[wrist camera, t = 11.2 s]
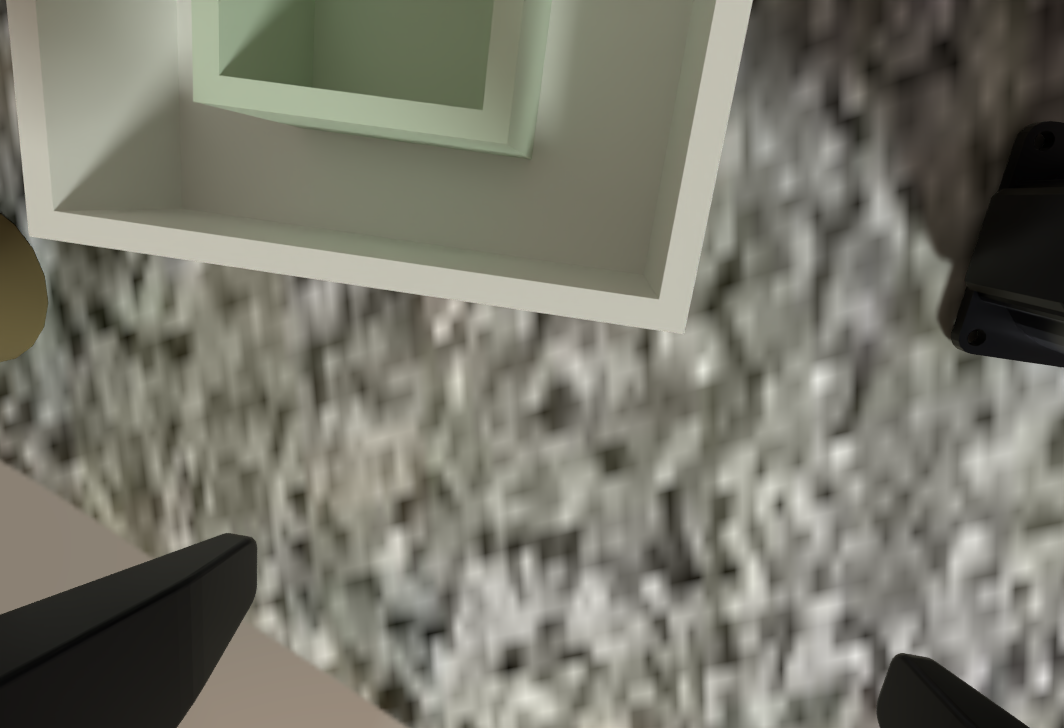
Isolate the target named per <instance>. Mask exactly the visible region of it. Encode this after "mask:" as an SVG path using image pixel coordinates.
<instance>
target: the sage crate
mask: <svg viewBox="0 0 1064 728" xmlns="http://www.w3.org/2000/svg"><path fill="white" fill-rule="evenodd" d="M551 5H552V0H191V11H192V64H193V102H197V103H201V104H205V105H209V106H213V107H217V108H222V109H226V110H230V111H234V112H238V113H242V114H246V115H250V116H254V117H258V118H262V119H266V120H270V121H274V122H278V123H282V124H287V125H291V126H295V127H299V128H304V129H312V130H319V131H326V132H334V133H341V134H348V135H355V136H363V137H370V138H377V139H385V140H392V141H399V142H407V143H414V144H421V145H429V146H436V147H443V148H450V149H458V150H465V151H472V152H480V153H487V154H494V155H502V156H509V157H516V158H523V159H531V160H532V153H533V145H534V138H535V130H536V122H537V114H538V106H539V99H540V91H541V83H542V75H543V67H544V59H545V52H546V44H547V36H548V28H549V20H550V12H551Z"/></svg>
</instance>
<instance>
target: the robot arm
mask: <svg viewBox="0 0 1064 728" xmlns="http://www.w3.org/2000/svg"><path fill="white" fill-rule="evenodd" d="M1038 134H1042V135H1043V137H1044V144H1043V146H1042V147H1041V149H1039V150H1037V149H1036V148H1035V146H1034V140H1035V138H1036V136H1037V135H1038ZM965 282H966V284H967V287H966V290H965V293H964V296H963V300H962V303H961V306H960V309H959V312H958V315H957V318H956V321H955V324H954V327H953V330H952V334H951V340H952V343H953V345H954V346H955V347H956V348H957V349H960V350H962V351H965V352H967V353H970V354H976V355H983V356H989V357H996V358H1003V359H1010V360H1017V361H1023V362H1030V363H1037V364H1044V365H1051V366H1057V367H1064V123H1061V122H1053V121H1049V122H1040V123H1034V124H1031V125H1029V126H1027V127H1025V128H1024V129H1023V130H1022V131H1021V132H1020V133H1019V134H1018V136H1017V138H1016V140H1015V143H1014V146H1013V149H1012V152H1011V155H1010V158H1009V161H1008V164H1007V167H1006V170H1005V173H1004V176H1003V179H1002V182H1001V185H1000V188H999V191H998V193H996V194H995V195H994V196H993V197H992V198H991V201H990V204H989V207H988V210H987V213H986V216H985V219H984V222H983V225H982V228H981V231H980V234H979V237H978V240H977V244H976V247H975V250H974V253H973V256H972V259H971V262H970V265H969V268H968V271H967V274H966V277H965ZM975 329H977V331H978V336H977V338H976V339H975V340H974V341H973V342H971V343H969V342H968V335H969V334H970V332H972V331H973V330H975ZM256 589H257V544H256V541H255V540H254V539H253V538H252V537H248V536H243V535H237V534H231V533H225V534H222V535H219V536H216V537H214V538H211V539H208V540H205V541H202V542H200V543H197V544H194V545H191V546H189V547H186V548H183V549H180V550H178V551H175V552H172V553H169V554H167V555H164V556H161V557H158V558H156V559H153V560H150V561H147V562H144V563H142V564H140V565H136V566H133V567H131V568H128V569H125V570H122V571H120V572H117V573H114V574H111V575H109V576H106V577H103V578H101V579H98V580H95V581H92V582H89V583H87V584H84V585H81V586H78V587H75V588H73V589H70V590H68V591H64V592H62V593H59V594H56V595H53V596H51V597H48V598H45V599H42V600H40V601H37V602H34V603H31V604H29V605H26V606H23V607H20V608H17V609H15V610H12V611H9V612H7V613H4V614H1V615H0V728H177V727H178V725H179V724H180V722H181V721H182V720H183V718H184V716H185V715H186V713H187V712H188V711H189V709H190V708H191V706H192V705H193V703H194V702H195V700H196V698H197V697H198V695H199V694H200V692H201V690H202V689H203V687H204V686H205V684H206V682H207V680H208V679H209V677H210V675H211V674H212V672H213V670H214V668H215V667H216V665H217V663H218V661H219V660H220V658H221V656H222V655H223V653H224V651H225V649H226V647H227V646H228V644H229V642H230V641H231V639H232V637H233V636H234V634H235V632H236V630H237V628H238V627H239V625H240V623H241V622H242V620H243V618H244V617H245V615H246V613H247V611H248V610H249V608H250V606H251V604H252V602H253V600H254V597H255V594H256ZM877 719H878V723H879V726H880V728H1029V727H1028V726H1027V725H1025V724H1024V723H1022V722H1021V721H1020V720H1018V719H1017V718H1015V717H1014V716H1012V715H1011V714H1010V713H1008V712H1007V711H1005V710H1004V709H1002V708H1001V707H1000V706H998V705H997V704H995V703H994V702H993V701H991V700H990V699H988V698H987V697H985V696H984V695H983V694H981V693H980V692H978V691H977V690H976V689H974V688H973V687H971V686H970V685H968V684H967V683H966V682H964V681H963V680H961V679H960V678H958V677H957V676H956V675H954V674H953V673H951V672H950V671H949V670H947V669H946V668H944V667H943V666H941V665H940V664H939V663H937V662H936V661H934V660H933V659H930V658H927V657H922V656H916V655H911V654H905V653H900V654H897V655H896V656H895V657H894V658H893V659H892V661H891V663H890V666H889V669H888V672H887V675H886V677H885V680H884V683H883V686H882V689H881V691H880V694H879V697H878V701H877Z"/></svg>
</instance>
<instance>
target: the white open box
mask: <svg viewBox="0 0 1064 728" xmlns="http://www.w3.org/2000/svg"><path fill="white" fill-rule="evenodd" d="M752 2H753V0H552V5H551V12H550V20H549V28H548V36H547V44H546V52H545V59H544V67H543V75H542V83H541V91H540V99H539V106H538V114H537V122H536V130H535V138H534V145H533V153H532V160H531V159H523V158H516V157H509V156H502V155H494V154H487V153H480V152H472V151H465V150H458V149H450V148H443V147H436V146H429V145H421V144H414V143H407V142H399V141H392V140H385V139H377V138H370V137H363V136H355V135H348V134H341V133H334V132H326V131H319V130H312V129H304V128H299V127H295V126H291V125H287V124H282V123H278V122H274V121H270V120H266V119H262V118H258V117H254V116H250V115H246V114H242V113H238V112H234V111H230V110H226V109H222V108H217V107H213V106H209V105H205V104H201V103H197V102H193V64H192V11H191V0H6V3H7V13H8V23H9V34H10V44H11V54H12V64H13V75H14V85H15V95H16V106H17V116H18V126H19V137H20V147H21V157H22V168H23V178H24V188H25V198H26V209H27V219H28V229H29V236H30V237H37V238H44V239H50V240H57V241H64V242H70V243H77V244H84V245H91V246H97V247H104V248H111V249H117V250H124V251H131V252H137V253H144V254H151V255H157V256H164V257H171V258H178V259H184V260H191V261H198V262H204V263H211V264H218V265H224V266H231V267H238V268H244V269H251V270H258V271H265V272H271V273H278V274H285V275H291V276H298V277H305V278H311V279H318V280H325V281H331V282H338V283H345V284H351V285H358V286H365V287H372V288H378V289H385V290H392V291H398V292H405V293H412V294H418V295H425V296H432V297H438V298H445V299H452V300H459V301H465V302H472V303H479V304H485V305H492V306H499V307H505V308H512V309H519V310H525V311H532V312H539V313H545V314H552V315H559V316H566V317H572V318H579V319H586V320H592V321H599V322H606V323H612V324H619V325H626V326H632V327H639V328H646V329H653V330H659V331H666V332H673V333H679V334H684V332H685V327H686V322H687V317H688V313H689V308H690V303H691V298H692V293H693V288H694V283H695V279H696V274H697V269H698V264H699V259H700V254H701V249H702V245H703V240H704V235H705V230H706V225H707V220H708V215H709V211H710V206H711V201H712V196H713V191H714V186H715V181H716V177H717V172H718V167H719V162H720V157H721V152H722V147H723V143H724V138H725V133H726V128H727V123H728V118H729V113H730V109H731V104H732V99H733V94H734V89H735V84H736V79H737V75H738V70H739V65H740V60H741V55H742V50H743V45H744V41H745V36H746V31H747V26H748V21H749V16H750V11H751V7H752Z"/></svg>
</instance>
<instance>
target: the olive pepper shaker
mask: <svg viewBox="0 0 1064 728" xmlns="http://www.w3.org/2000/svg"><path fill="white" fill-rule="evenodd" d="M47 307H48V298H47V291H46V284H45V276H44V274H43V271H42V269H41V267H40V264H39V262H38V260H37V257H36V255H35V253H34V250H33V249H32V247H31V246H30V245H29V243H28V242H27V241H26V239H25V238H24V237H23V235H22V234H21V233H20V231H19V230H18V229H17V227H16V226H15V225H14V224H13V223H11V222H10V221H9V220H8V219H6V218H5V217H4V216H3V215H1V214H0V362H3V361H7V360H11V359H15V358H17V357H18V356H20V355H21V354H22V353H24V352H25V351H26V350H28V349H29V348H30V347H32V346H33V345H34V343H35V341H36V339H37V338H38V336H39V334H40V333H41V331H42V329H43V328H44V324H45V318H46V312H47Z"/></svg>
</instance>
